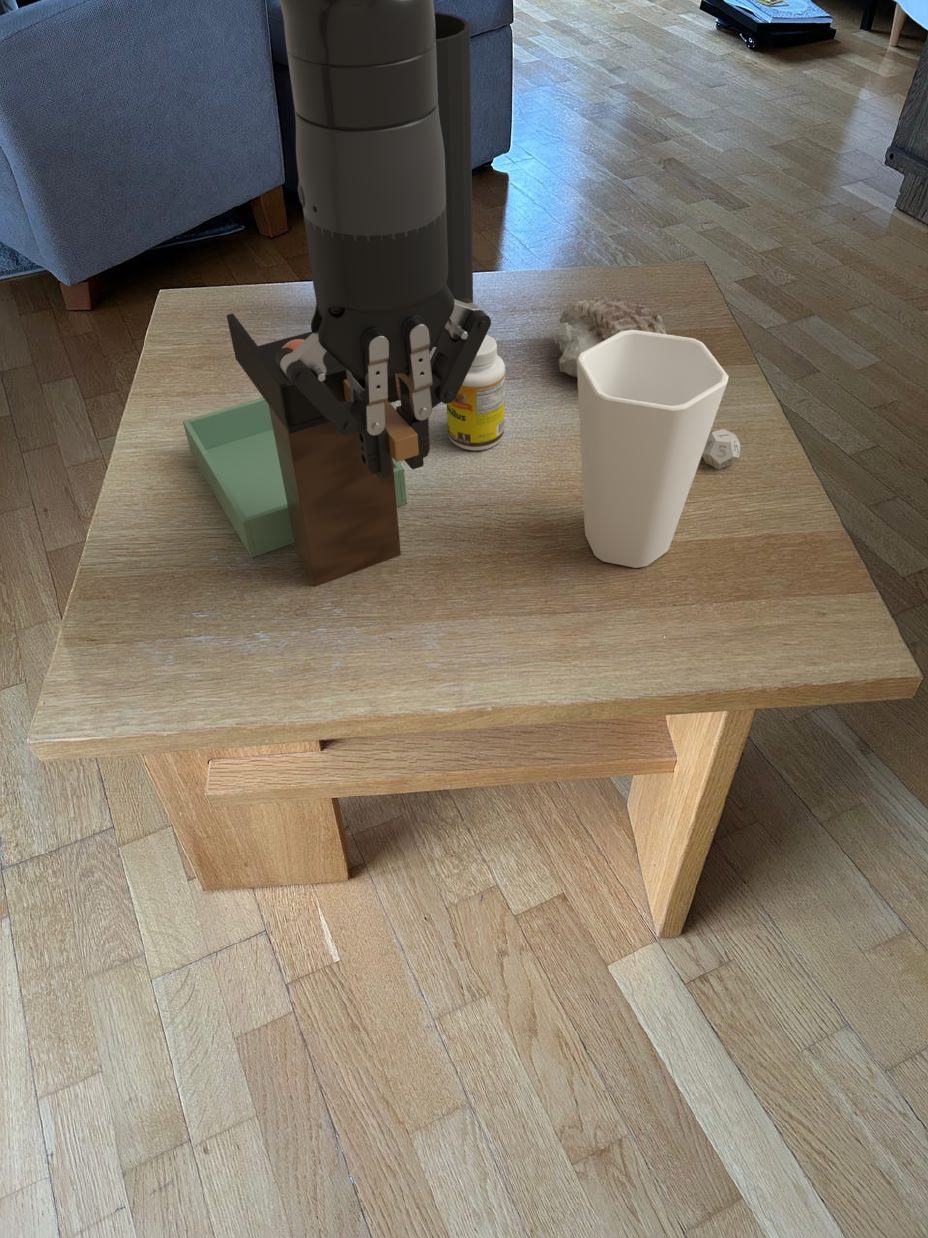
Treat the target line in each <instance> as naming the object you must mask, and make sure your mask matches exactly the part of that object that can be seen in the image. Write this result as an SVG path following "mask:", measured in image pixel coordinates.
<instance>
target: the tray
mask: <svg viewBox="0 0 928 1238" xmlns="http://www.w3.org/2000/svg"><path fill="white" fill-rule="evenodd" d="M182 425H183V428H184V432H185V436H186V439H187V444H188V447H189V450H190V453H191V456H192V458H193V460H194V462H195V464H196V465H197V468H198V469H199V471H200V472H201V474H202V475H203V477H204V479H205V481H206V483H207V484H208V486H209V487H210V490H211V491H212V493H213V495H214V497H215V498H216V500H217V502H218V504H219V505H220V507H221V508H222V511H223V512H224V514H225V516H226V517H227V519H228V521H229V523H230V524H231V527H232V528H233V529H234V531H235V533H236V534H237V536H238V539H239V540H240V541H241V544H242V545H243V547H244V548H245V550H246V552H247V554H248V555H249V557H250V558H255V557H257V556H260V555H263V554H267V553H269V552H272V551H275V550H277V549H281V548H284V547H287V546H289V545H292V544H295V542H294V536H293V531H292V526H291V521H290V515H289V510H288V505H287V500H286V494H285V489H284V484H283V479H282V473H281V468H280V463H279V458H278V452H277V447H276V442H275V437H274V431H273V426H272V421H271V416H270V410H269V405H268V403H267V402H266V400H265V399H264V398H263V397H259V398H257V399H252V400H250V401H246V402H242V403H240V404H236V405H233V406H229V407H226V408H222V409H219V410H215V411H212V412H209V413H205V414H202V415H198V416H194V417H191V418H188V419H184V420H183V421H182ZM393 468H394V480H395V492H396V503H397V508H398V507H401V506H404V505H407V504H408V501H407V486H406V475H405V474H406V473H405V468H404V466H403V465H402V463H401V462H400V461H399V462H396V461H395V460H394V459H393Z"/></svg>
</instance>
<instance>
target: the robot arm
mask: <svg viewBox="0 0 928 1238" xmlns="http://www.w3.org/2000/svg"><path fill="white" fill-rule="evenodd" d="M278 2H279V6H280V9H281V14H282V19H283V28H284V40H285V47H286V55H287V56H286V57H287V62H288V70H289V77H290V78H289V79H290V86H291V93H292V99H293V107H294V118H295V119H294V120H295V157H296V159H295V160H296V167H297V169H296V170H297V176H298V186H297V193H298V199H299V203H300V204H301V207H302V213H303V221H304V227H305V235H306V242H307V249H308V254H309V255H308V256H309V264H310V271H311V278H312V286H313V293H314V298H315V309H314V313H313V315H312V318H311V322H310V332H311V331H312V334H311V335H310V336H309V337H308V338H307V339H306V340H305V341H303V342H302V343H301V344H300V345H299V346H298V347H297V348H296V349H295V350H293V349H291V348H288V347H285V348H282V349H280V350H279V351H278V352H277V354H276V362H277V364H278V365H279V367H280V368H281V369H282V370H283V372H284V373H285V374H286V376H287V377H288V378H289V379H290V381H291V382H292V383H293V385H294V386H295V387H296V388H297V389H298V390H299V391H300V392H301V393H302V394H303V395H304V396H305V397H306V398H307V399H308V400H309V401H310V402H311V403H312V404H313V405H314V406H315V407H316V408H317V409H318V410H319V411H320V412H321V413H322V414H323V415H324V416H325V417H326V418H327V419H328V420H329V421H330V422H331V423H332V424H333V425H334V426H335V427H336V428H337V430H338V431H339V432H340V433H342V434H343V435H350V434H352V433H353V432H354V431H357V438H358V445H359V446H358V447H359V456H360V459H361V460H362V462H363V463H364V465H365V466H366V467H367V468H368V470H369V471H370V472H371V474H372V475H373V474H376V475H377V476H378V478H379V479H380V480H383V479H386V478H389V477H391V476H392V470H391V459H390V448H389V437H388V431H387V430H386V429H385V401H387V400H388V378H389V377H391V376H392V375H394V374H395V378H396V385H397V393H398V398H399V401H400V405H399V406H395V409H396V410H397V412H398V413H399V414H400V415H401V416H402V417H403V418H404V419H405V421H406V422H407V423H408V424H409V425H410V426H411V427H412V429H413V430H414V431H415V432H416V433H417V435H418V451H419V455H417V456H414V457H411V458H408V459H405V460H404V462H405V463H406V464H407V465H408V467H410V469H411V470H416V469H419V468H422V467H423V466H424V458H427V457H428V456H429V453H430V449H431V444H430V425H429V418H430V417H431V415H432V412H433V409H434V408H435V407H436V406H438V405H439V404H441V403H442V404H445V405H447V404H449V403H451V402H452V401H454V399H455V398H456V396H457V394H458V392H459V390H460V388H461V386H462V384H463V382H464V380H465V378H466V375H467V373H468V371H469V369H470V367H471V365H472V363H473V361H474V359H475V357H476V355H477V353H478V351H479V349H480V346H481V344H482V342H483V340H484V338H485V336H486V335H488V333H489V330H490V328H491V325H492V319H491V317H490V316H489V315H488V314H487V313H486V312H485V311H484V310H483V309H482V308H481V307H480V306H478V305H477V304H476V303H475V302H474V301H473V302H472V301H471V300H469V299H468V298H463V299H460V300H459V301H458V300H455V299H454V297H453V295H452V293H451V291H450V290H449V288H448V286H447V283H446V281H447V278H448V250H447V217H446V184H445V155H444V145H443V138H442V132H441V126H440V119H439V110H438V102H437V101H438V90H437V60H436V32H435V14H434V12H435V6H434V5H435V4H434V0H278ZM443 329H444V331H443ZM442 331H443V334H442V336H441V338H440V340H439V342H438V344H437V346H434V345H435V343H436V342H437V340H438V338H439V336H440V334H441V333H442ZM434 347H435V349H434ZM433 349H434V351H433ZM432 351H433V353H432V355H430V354H431V352H432ZM326 352H328V353H329V354H331V355H332V356H333V357H334V358H335V359H336V360H337V361H338V362H339V363H341V364H342V365H343V366H344V367H345V368H346V375H347V380H348V382H349V385H350V394H351V402H341V401H340V400H339V398H338V397H337V396H336V395H335V394H334V393H333V392H332V391H331V390H330V389H329V388H328V387H327V386H326V385H325V384H324V382H323V381H324V380H325V378H326V376H325V375H326V372H327V369H326V366H325V364H324V362H323V358H324V355H325V353H326Z"/></svg>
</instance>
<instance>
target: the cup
mask: <svg viewBox="0 0 928 1238" xmlns="http://www.w3.org/2000/svg"><path fill="white" fill-rule="evenodd" d="M577 376H578V377H577V393H578V395H577V396H578V416H579V417H578V418H579V437H580V459H581V460H580V461H581V475H582V476H581V479H582V500H583V501H582V502H583V521H584V536H585V538H586V540H587V542H588V544H589V546H590V549H591V551H592V553H593V555H594V557H596V558H597V559H599V560H600V561H602V562H604V563H610V564H613V565H620V566H623V567H629V568H634V569H638V568H645V567H648V566H649V565H651V564H653V562H655V561H656V560H658V559H659V558H661V557H662V556H663V555H666V553H667V552H669V550H670V548H671V544H672V541H673V538H674V536H675V533H676V530H677V527H678V524H679V521H680V518H681V516H682V513H683V510H684V507H685V504H686V502H687V498H688V496H689V493H690V490H691V487H692V484H693V482H694V479H695V476H696V473H697V470H698V468H699V465H700V462H701V459H702V453H703V451H704V448H705V445H706V442H707V439H708V436H709V434H710V433H711V432H712V428H713V426H714V422H715V419H716V416H717V414H718V411H719V408H720V405H721V402H722V399H723V396H724V394H725V391H726V388H727V385H728V381H729V374H728V373H727V372H726V371H725V369H724V368H723V366H721V364H720V363H719V362H718V360H717V359H716V358H715V356H714V355H713V354H712V353H711V351H710V350H709V348H708V347H707V346H706V345H705V344H704V342H702V341H700V340H698V339H697V338H693V337H687V336H680V335H674V334H673V335H672V334H667V333H666V334H659V333H652V332H645V331H638V330H627V331H621V332H620V333H618V334H616V335H614V336H612V337H610V338H608V339H606V340H605V341H603V342H601V343H599V344H597V345H595V346H593V347H591V348H590V349H588V350H586V351H584V352H582V353H580V354H579V356H578V359H577Z"/></svg>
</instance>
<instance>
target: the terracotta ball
mask: <svg viewBox="0 0 928 1238" xmlns="http://www.w3.org/2000/svg"><path fill="white" fill-rule="evenodd" d="M303 341H305V340H303V339H295V340H291V341H289V342H287V343H286V344H285V345H284V346H283V347H282V348H285V347H288V348H291V349H293V350H295V349H296V348H297V347H298V346H299V345H300V344H301V343H302V342H303ZM279 368H280V367H279ZM280 371H281V372H282V374H283V375H284V376H285V377H286V378H287V379H288V380H290V379H289V378H288V377H287V376H286V374H285V373H284V372H283V370H282V369H281V368H280Z"/></svg>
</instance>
